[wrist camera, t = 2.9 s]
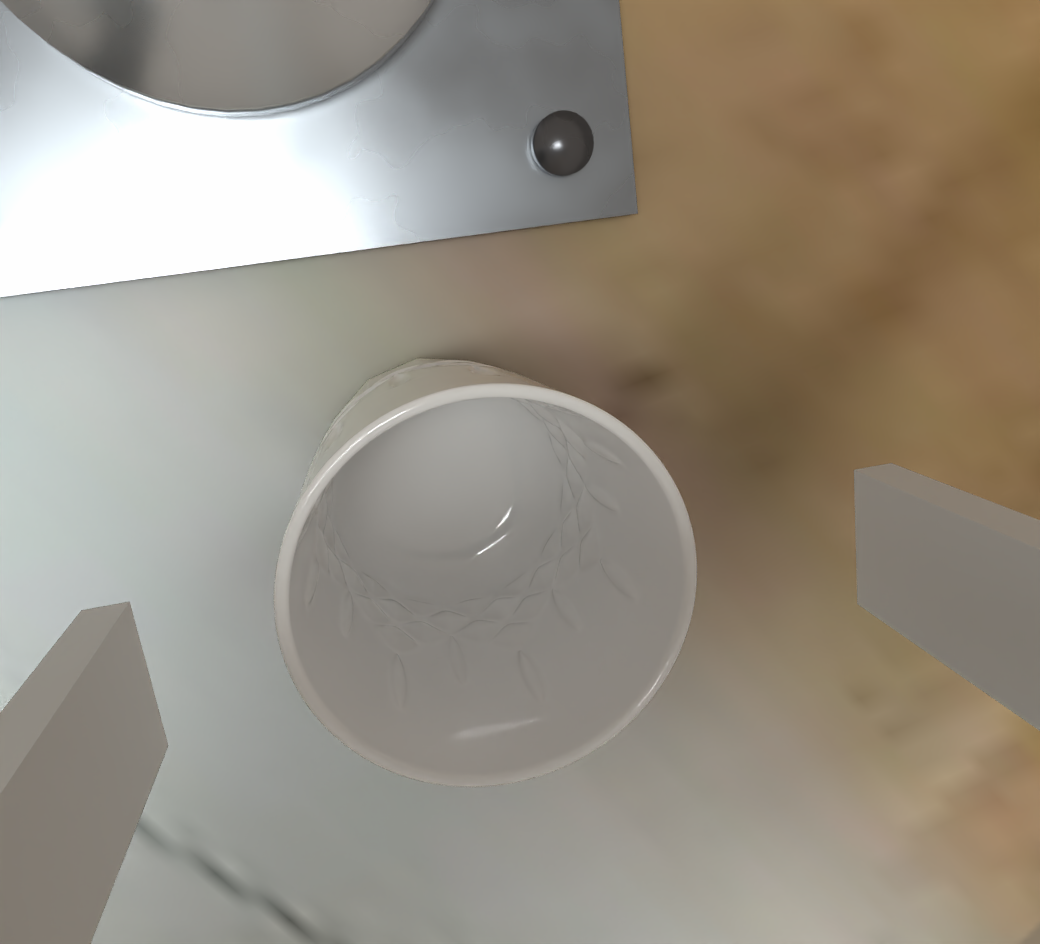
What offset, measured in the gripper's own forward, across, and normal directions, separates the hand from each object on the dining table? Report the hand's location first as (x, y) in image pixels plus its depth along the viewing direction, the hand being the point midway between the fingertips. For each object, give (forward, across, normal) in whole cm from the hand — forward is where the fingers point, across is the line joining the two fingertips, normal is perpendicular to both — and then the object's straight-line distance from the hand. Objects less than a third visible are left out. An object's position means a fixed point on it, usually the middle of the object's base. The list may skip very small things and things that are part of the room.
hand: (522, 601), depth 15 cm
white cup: (+11, -1, 0) cm, 11 cm away
